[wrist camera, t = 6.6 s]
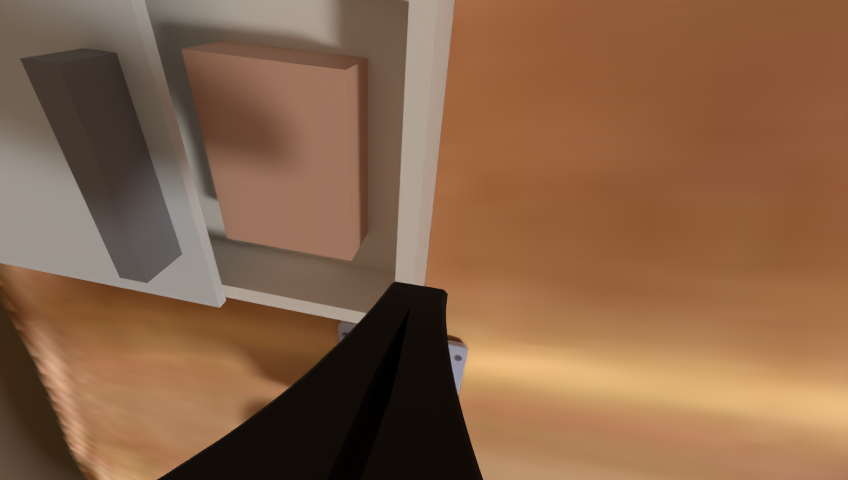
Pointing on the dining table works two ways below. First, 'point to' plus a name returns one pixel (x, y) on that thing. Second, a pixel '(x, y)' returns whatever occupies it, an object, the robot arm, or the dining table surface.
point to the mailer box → (310, 141)
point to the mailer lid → (96, 153)
